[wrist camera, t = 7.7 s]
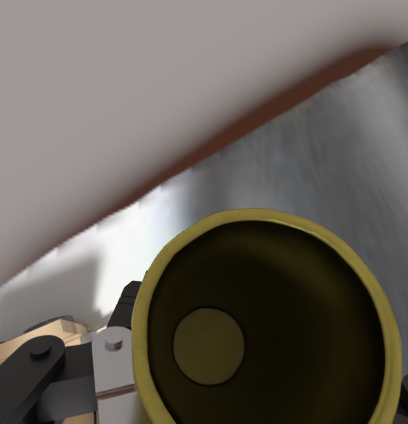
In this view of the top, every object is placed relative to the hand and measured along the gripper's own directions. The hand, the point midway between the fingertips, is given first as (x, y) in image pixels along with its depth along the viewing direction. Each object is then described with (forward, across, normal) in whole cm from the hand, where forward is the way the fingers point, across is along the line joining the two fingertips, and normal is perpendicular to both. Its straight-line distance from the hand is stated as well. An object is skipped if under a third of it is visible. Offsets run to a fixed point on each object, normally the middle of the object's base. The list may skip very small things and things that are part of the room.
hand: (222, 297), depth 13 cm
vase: (+4, 0, +6) cm, 7 cm away
